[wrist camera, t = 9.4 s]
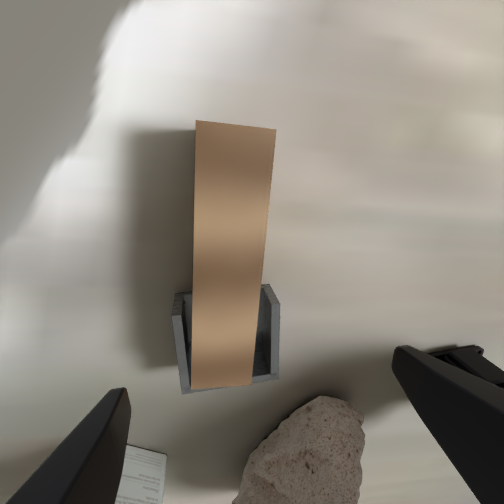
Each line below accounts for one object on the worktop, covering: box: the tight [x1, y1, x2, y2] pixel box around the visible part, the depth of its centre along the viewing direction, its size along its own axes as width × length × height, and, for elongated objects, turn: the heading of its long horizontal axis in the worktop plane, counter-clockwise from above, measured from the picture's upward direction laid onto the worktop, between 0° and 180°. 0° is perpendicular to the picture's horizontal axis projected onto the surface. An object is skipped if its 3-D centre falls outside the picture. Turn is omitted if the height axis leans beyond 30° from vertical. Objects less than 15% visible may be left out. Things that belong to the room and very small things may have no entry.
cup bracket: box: [172, 284, 280, 394], centre depth 20 cm, size 7×7×3 cm
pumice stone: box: [232, 396, 365, 504], centre depth 23 cm, size 15×8×10 cm, turn 136°
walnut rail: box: [191, 120, 276, 389], centre depth 18 cm, size 16×4×4 cm, turn 175°
